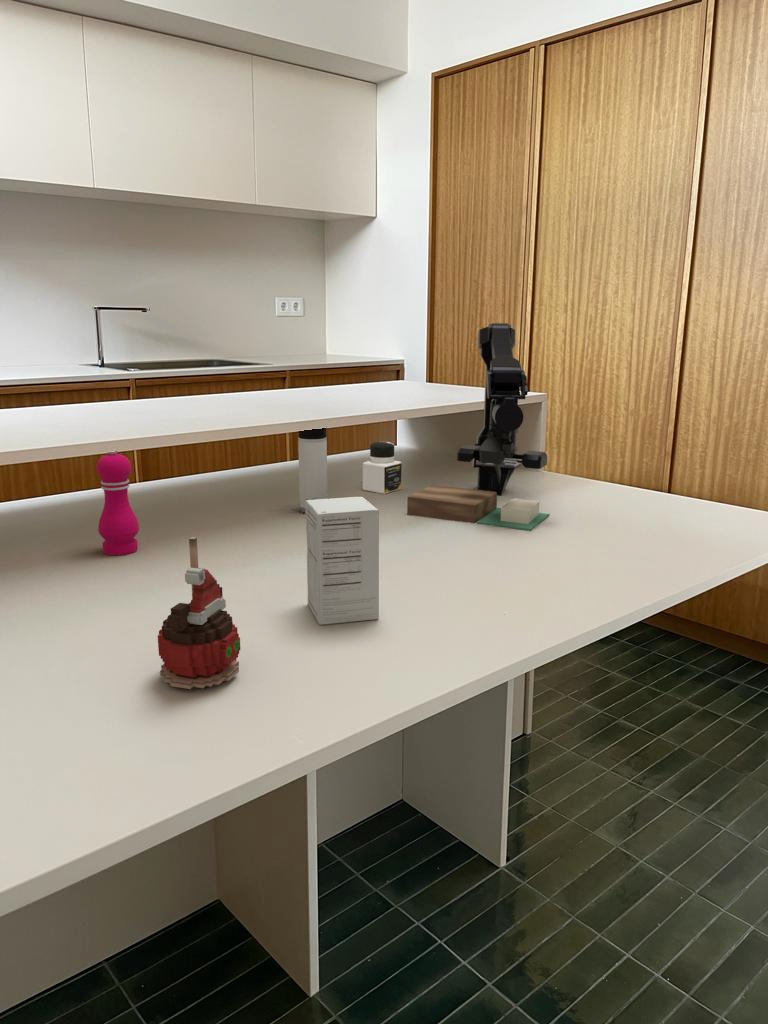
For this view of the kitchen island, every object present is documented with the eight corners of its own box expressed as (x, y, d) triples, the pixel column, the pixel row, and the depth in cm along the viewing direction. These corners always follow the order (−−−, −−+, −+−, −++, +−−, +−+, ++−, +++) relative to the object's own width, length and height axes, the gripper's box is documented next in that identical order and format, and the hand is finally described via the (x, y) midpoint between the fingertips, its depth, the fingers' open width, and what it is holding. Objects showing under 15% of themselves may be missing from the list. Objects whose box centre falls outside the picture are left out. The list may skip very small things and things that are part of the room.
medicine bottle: (384, 494, 195) (385, 446, 192) (362, 490, 200) (362, 442, 197) (401, 489, 201) (402, 442, 198) (379, 485, 205) (379, 439, 202)
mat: (497, 509, 182) (497, 507, 182) (549, 515, 177) (549, 514, 177) (476, 523, 170) (476, 521, 170) (530, 531, 165) (530, 529, 164)
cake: (189, 653, 106) (181, 523, 101) (253, 663, 103) (248, 529, 99) (143, 689, 96) (132, 546, 91) (213, 700, 93) (205, 554, 89)
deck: (432, 501, 189) (432, 484, 188) (496, 509, 182) (497, 492, 181) (407, 514, 177) (407, 496, 176) (474, 523, 170) (475, 505, 169)
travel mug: (311, 515, 175) (310, 425, 170) (294, 509, 180) (292, 421, 175) (333, 511, 179) (333, 422, 174) (316, 505, 184) (315, 419, 179)
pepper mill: (129, 542, 154) (121, 440, 149) (147, 550, 149) (140, 445, 144) (93, 550, 149) (84, 445, 144) (111, 559, 144) (102, 450, 139)
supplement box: (380, 620, 118) (381, 509, 113) (319, 626, 115) (317, 514, 111) (363, 597, 126) (363, 494, 122) (306, 603, 124) (304, 498, 120)
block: (539, 501, 175) (538, 514, 176) (512, 498, 178) (512, 511, 179) (528, 510, 167) (527, 524, 168) (501, 507, 170) (500, 520, 171)
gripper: (448, 426, 167) (446, 498, 170) (534, 433, 158) (530, 508, 162) (467, 419, 176) (464, 488, 180) (550, 425, 168) (545, 497, 172)
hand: (499, 495), depth 173 cm, fingers closed
